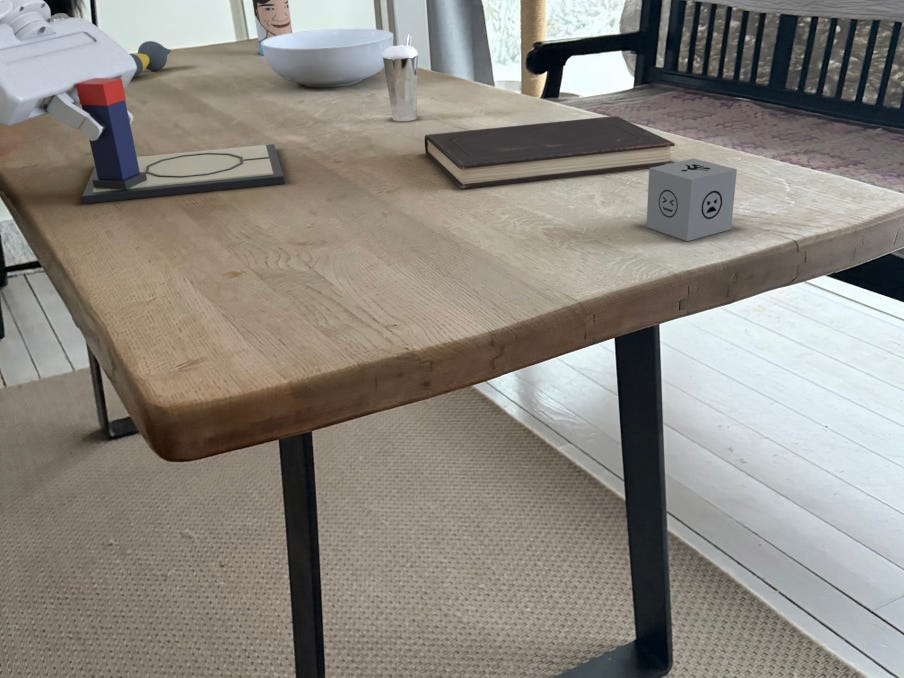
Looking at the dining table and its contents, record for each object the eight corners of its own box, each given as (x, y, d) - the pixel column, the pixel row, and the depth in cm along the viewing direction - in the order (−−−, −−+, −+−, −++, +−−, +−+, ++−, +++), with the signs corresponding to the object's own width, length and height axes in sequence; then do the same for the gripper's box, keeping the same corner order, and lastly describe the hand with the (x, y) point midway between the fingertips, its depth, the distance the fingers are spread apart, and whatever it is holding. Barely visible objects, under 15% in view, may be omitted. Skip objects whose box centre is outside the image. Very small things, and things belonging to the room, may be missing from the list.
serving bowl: (240, 87, 153) (233, 41, 150) (337, 68, 167) (333, 26, 163) (326, 99, 141) (320, 49, 138) (423, 77, 155) (420, 31, 151)
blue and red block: (93, 187, 97) (69, 83, 92) (115, 178, 100) (93, 77, 95) (126, 189, 96) (103, 84, 91) (147, 179, 99) (127, 78, 94)
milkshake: (430, 115, 128) (425, 34, 123) (412, 123, 123) (406, 40, 118) (400, 113, 129) (394, 34, 124) (381, 121, 125) (374, 39, 120)
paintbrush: (126, 84, 160) (119, 53, 158) (99, 85, 161) (92, 53, 159) (179, 66, 177) (174, 37, 174) (154, 67, 178) (149, 38, 175)
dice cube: (731, 229, 80) (736, 169, 78) (687, 241, 78) (691, 179, 76) (689, 215, 84) (693, 158, 81) (646, 227, 82) (649, 168, 79)
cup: (261, 56, 185) (248, -31, 177) (259, 51, 190) (247, -32, 183) (296, 53, 186) (285, -33, 178) (293, 49, 192) (282, -35, 184)
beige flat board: (83, 204, 95) (81, 193, 95) (98, 167, 109) (96, 157, 108) (284, 183, 99) (283, 173, 99) (275, 150, 113) (273, 141, 112)
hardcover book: (673, 165, 100) (674, 142, 98) (460, 189, 95) (459, 165, 93) (613, 135, 113) (614, 114, 112) (425, 154, 108) (423, 133, 107)
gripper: (58, 35, 103) (157, 130, 105) (-86, 66, 86) (35, 178, 88) (83, -12, 99) (184, 87, 102) (-63, 11, 83) (63, 129, 85)
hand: (114, 130), depth 95 cm, fingers closed on blue and red block, 3 cm apart
